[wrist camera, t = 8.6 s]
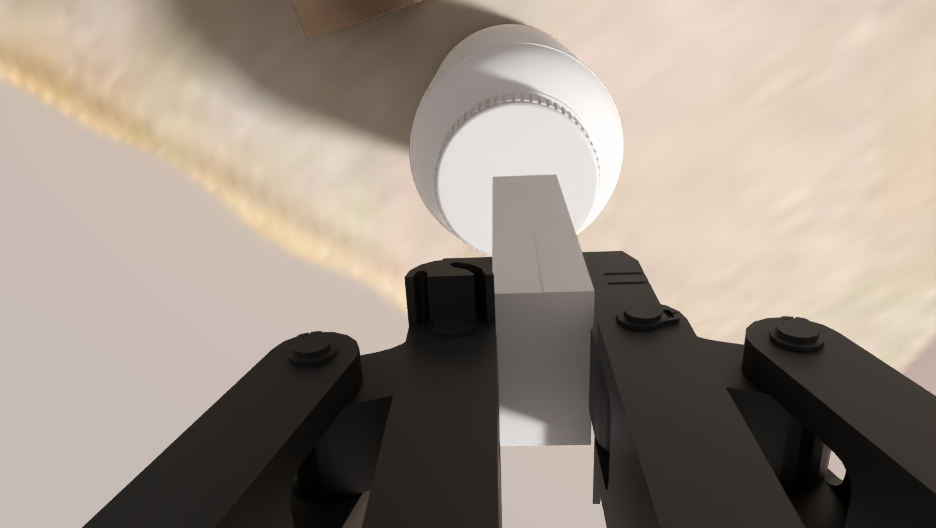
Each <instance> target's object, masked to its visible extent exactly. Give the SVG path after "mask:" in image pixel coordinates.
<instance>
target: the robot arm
mask: <svg viewBox="0 0 936 528" xmlns="http://www.w3.org/2000/svg"><path fill="white" fill-rule="evenodd" d="M405 287H406V298H407V309H408V321H409V329H408V334H407V338H406V342H404V343H403V344H401V345H399V346H396V347H394V348H391V349H388V350H384V351H380V352H376V353H372V354H366V355H361V356H360V351H359V347H358V345H357V342H356V341H355V340H354V339H352V338H351V337H349V336H348V335H344V334H339V333H335V332H321V331H316V332H311V333H310V334H309V333H304V334H300V335H298V336H297V337H295V338H292V339H289V340H286V341H284V342H282V343H281V344H279V345H278V346H276V347H275V348H274V349H272V350H271V351H270V352H269V353H268V354H267V355H266V356H265V357H264V358H263V359H262V360H260V361H259V362H258V363H257V364H256V365H255V366H254V367H253V368H252V369H251V370H250V371H249V372H248V373H247V374H245V375H244V376H243V377H242V378H241V379H240V380H239V381H238V382H237V383H236V384H235V385H234V386H233V387H232V388H231V389H229V390H228V391H227V392H226V393H225V394H224V395H223V396H222V397H221V398H220V399H219V400H218V401H217V402H216V403H215V404H213V405H212V406H211V407H210V408H209V409H208V410H207V411H206V412H205V413H204V414H203V415H202V416H201V417H200V418H199V419H197V420H196V421H195V422H194V423H193V424H192V425H191V426H190V427H189V428H188V429H187V430H186V431H185V432H184V433H182V434H181V435H180V436H179V437H178V438H177V439H176V440H175V441H174V442H173V443H172V444H171V445H170V446H169V447H168V448H166V449H165V450H164V451H163V452H162V453H161V454H160V455H159V456H158V457H157V458H156V459H155V460H154V461H153V462H152V463H151V464H149V466H147V467H146V468H145V469H144V470H143V471H142V472H141V473H140V474H139V475H138V476H137V477H136V478H134V479H133V480H132V481H131V482H130V483H129V484H128V485H127V486H126V487H125V488H124V489H123V490H122V491H121V492H120V493H119V494H117V495H116V496H115V497H114V498H113V499H112V500H111V501H110V502H109V503H108V504H107V505H106V506H105V507H104V508H102V509H101V510H100V511H99V512H98V513H97V514H96V515H95V516H94V517H93V518H92V519H91V520H90V521H89V522H88V523H86V524H85V525H84V526H83V527H82V528H361V527H362V528H502V504H501V461H500V446H542V445H590V444H591V421H592V425H593V430H594V435H595V442H594V479H593V480H594V482H593V504H600V500H601V501H602V506H603V511H604V516H605V520H606V526H607V528H936V396H935V395H933V394H932V393H930V392H928V391H927V390H925V389H924V388H922V387H921V386H919V385H918V384H916V383H915V382H913V381H912V380H910V379H909V378H907V377H906V376H904V375H903V374H901V373H900V372H898V371H897V370H895V369H893V368H892V367H890V366H889V365H887V364H886V363H884V362H883V361H881V360H880V359H878V358H877V357H875V356H874V355H872V354H871V353H869V352H868V351H866V350H864V349H863V348H861V347H860V346H858V345H857V344H855V343H854V342H852V341H851V340H849V339H848V338H846V337H845V336H843V335H842V334H840V333H838V332H837V331H834V330H832V329H830V328H828V327H826V326H824V325H822V324H818V323H815V322H811V321H809V320H807V319H805V318H799V317H795V318H793V317H788V316H782V317H780V318H766V319H763V320H759V321H756V322H753V323H752V324H751V325H750V326H749V327H747V328H746V335H745V343H744V345H742V344H734V343H727V342H719V341H714V340H708V339H703V338H700V337H697V336H696V334H695V332H694V331H693V329H692V327H691V325H690V324H689V322H688V320H687V319H686V318H685V317H684V316H683V315H682V314H681V313H680V312H679V311H677V310H675V309H673V308H670V307H668V306H666V305H661V304H660V302H659V300H658V299H657V297H656V295H655V293H654V291H653V289H652V287H651V285H650V284H649V281H648V279H647V277H646V275H645V274H644V272H643V270H642V268H641V266H640V264H639V262H638V260H636V259H634V258H633V257H631V256H629V255H628V254H626V253H624V252H623V251H609V252H582V251H581V248H580V245H579V242H578V239H577V236H576V233H575V230H574V227H573V224H572V221H571V218H570V215H569V212H568V208H567V205H566V202H565V199H564V196H563V193H562V190H561V187H560V184H559V181H558V178H557V175H556V174H554V175H527V176H500V177H493V187H492V257H479V258H447V259H443V260H440V261H433V262H429V263H426V264H422V265H419V266H418V267H416V268H414V269H412V270H410V271H409V272H408V274H407V275H406V276H405ZM831 450H832V451H833V452H834V453H835V454H836V455H837V456H838V458H839V459H840V460H841V461H842V463H843V465H844V467H845V469H846V474H845V477H844V479H843V481H842V480H841V479H839V478H838V477H837V476H836V475H835V474H833V473H832V472H831V471H830V470H829V469H828V463H829V458H830V453H831Z"/></svg>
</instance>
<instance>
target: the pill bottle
mask: <svg viewBox="0 0 936 528" xmlns="http://www.w3.org/2000/svg"><path fill="white" fill-rule="evenodd" d="M623 146H624V145H623V131H622V126H621V121H620V117H619V114H618V111H617V108H616V106H615V104H614V101H613V99H612V97H611V96H610V94H609V92H608V90H607V89H606V87H605V86H604V84H603V83H602V82H601V80H600V79H599V78H598V77H597V76H596V75H595V74H594V72H593V71H592V70H591V69H590V68H588V67H587V66H586V65H585V64H584V63H583V62H582V61H581V60H580V59H579V58H577V57H576V56H575V55H574V54H573V53H572V52H571V51H570V50H569V49H568V48H566V47H565V46H564V45H563V44H562V43H561V42H560V41H558V40H557V39H556V38H554V37H553V36H551V35H550V34H548V33H546V32H544V31H542V30H539V29H537V28H534V27H530V26H526V25H519V24H502V25H495V26H491V27H487V28H484V29H482V30H479V31H477V32H475V33H473V34H471V35H469V36H468V37H466V38H465V39H463V40H462V41H461V42H460V43H458V44H457V45H456V46H455V47H454V48H453V49H452V50H451V51H450V52H449V54H448V55H447V56H446V58H445V59H444V60H443V62H442V64H441V65H440V67H439V69H438V71H437V72H436V74H435V76H434V78H433V80H432V82H431V83H430V85H429V87H428V89H427V91H426V92H425V94H424V96H423V98H422V100H421V102H420V104H419V106H418V109H417V111H416V114H415V117H414V120H413V124H412V129H411V135H410V145H409V155H410V165H411V171H412V175H413V179H414V182H415V185H416V188H417V190H418V192H419V195H420V197H421V198H422V200H423V202H424V204H425V205H426V207H427V208H428V210H429V211H430V212H431V214H432V215H433V216H434V217H435V218H436V220H437V221H438V222H439V223H440V224H441V225H442V226H443V227H445V228H446V229H447V230H448V231H449V232H451V233H452V234H453V235H455V236H456V237H458V238H459V239H461V240H463V242H464V243H465V244H468V245H469V247H471V248H472V249H473V248H474V249H476V251H478V252H482V253H483V254H484V255H489V256H491V257H492V187H493V177H500V176H527V175H554V174H556V175H557V178H558V181H559V184H560V187H561V190H562V193H563V196H564V199H565V202H566V205H567V208H568V212H569V215H570V218H571V221H572V224H573V227H574V230H575V233H576V236H577V234H578V233H580V232H581V231H582V230H584V229H585V228H586V227H587V226H588V225H589V224H590V223H591V222H592V221H593V220H594V219H595V218H596V217H597V216H598V214H599V213H600V212H601V211H602V209H603V208H604V206H605V205H606V203H607V202H608V200H609V198H610V196H611V195H612V193H613V190H614V188H615V186H616V183H617V181H618V178H619V174H620V171H621V166H622V160H623Z"/></svg>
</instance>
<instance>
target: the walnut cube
mask: <svg viewBox="0 0 936 528" xmlns="http://www.w3.org/2000/svg"><path fill="white" fill-rule="evenodd" d="M422 1H425V0H292V2H293V5H294V7H295V10H296V12H297V15H298V18H299V20H300V23H301V25H302V28H303V31H304V33H305V36H306V38H307V40H308V39H312V38H315V37H319V36H322V35H326V34H329V33H333V32H335V31H338V30H341V29H344V28H347V27H350V26H353V25H356V24H359V23H361V22H364V21H367V20H370V19H373V18H376V17H379V16H382V15H385V14H388V13H390V12H393V11H396V10H399V9H402V8H405V7H408V6H411V5H414V4H416V3H419V2H422Z"/></svg>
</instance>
